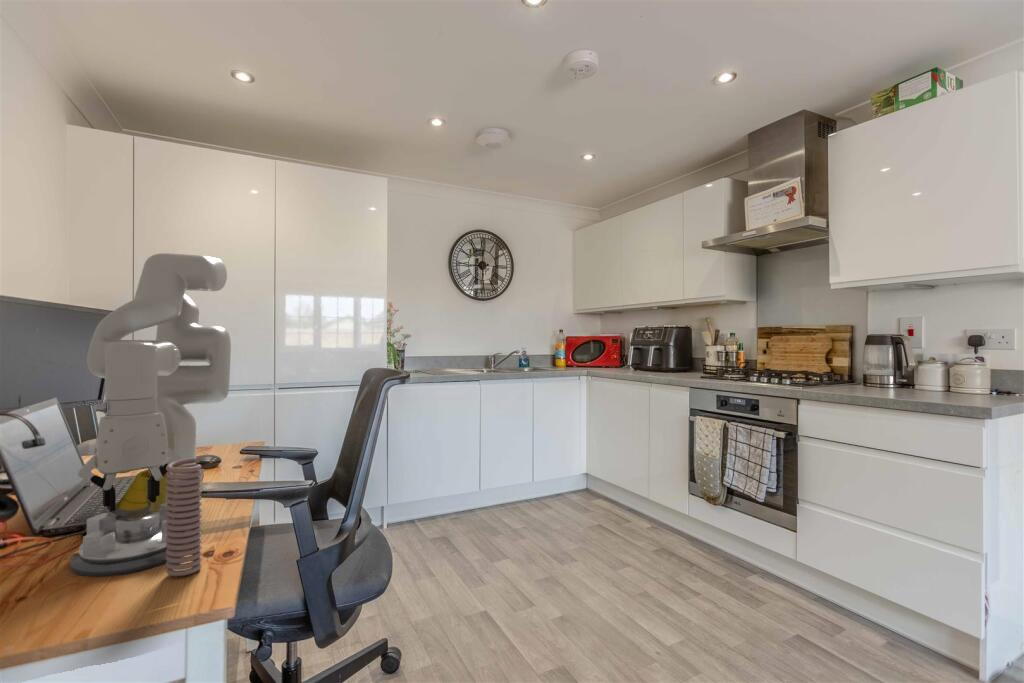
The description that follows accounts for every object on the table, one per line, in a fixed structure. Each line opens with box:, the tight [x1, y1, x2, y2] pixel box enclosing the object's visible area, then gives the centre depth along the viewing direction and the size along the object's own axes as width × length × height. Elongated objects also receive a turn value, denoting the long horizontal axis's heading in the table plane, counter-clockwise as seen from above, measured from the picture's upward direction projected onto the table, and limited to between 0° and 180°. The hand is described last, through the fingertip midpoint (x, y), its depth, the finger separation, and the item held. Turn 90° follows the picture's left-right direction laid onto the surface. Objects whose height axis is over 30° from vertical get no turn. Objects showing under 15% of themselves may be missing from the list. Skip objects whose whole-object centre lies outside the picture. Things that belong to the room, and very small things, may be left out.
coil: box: [165, 457, 203, 577], centre depth 74 cm, size 5×5×18 cm
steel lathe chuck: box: [78, 502, 191, 563], centre depth 81 cm, size 15×15×4 cm
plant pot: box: [135, 465, 184, 512], centre depth 98 cm, size 10×10×10 cm
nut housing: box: [69, 543, 191, 578], centre depth 81 cm, size 17×17×2 cm
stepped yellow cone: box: [112, 471, 151, 517], centre depth 85 cm, size 5×5×10 cm
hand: (132, 504), depth 86 cm, fingers closed on stepped yellow cone, 5 cm apart
